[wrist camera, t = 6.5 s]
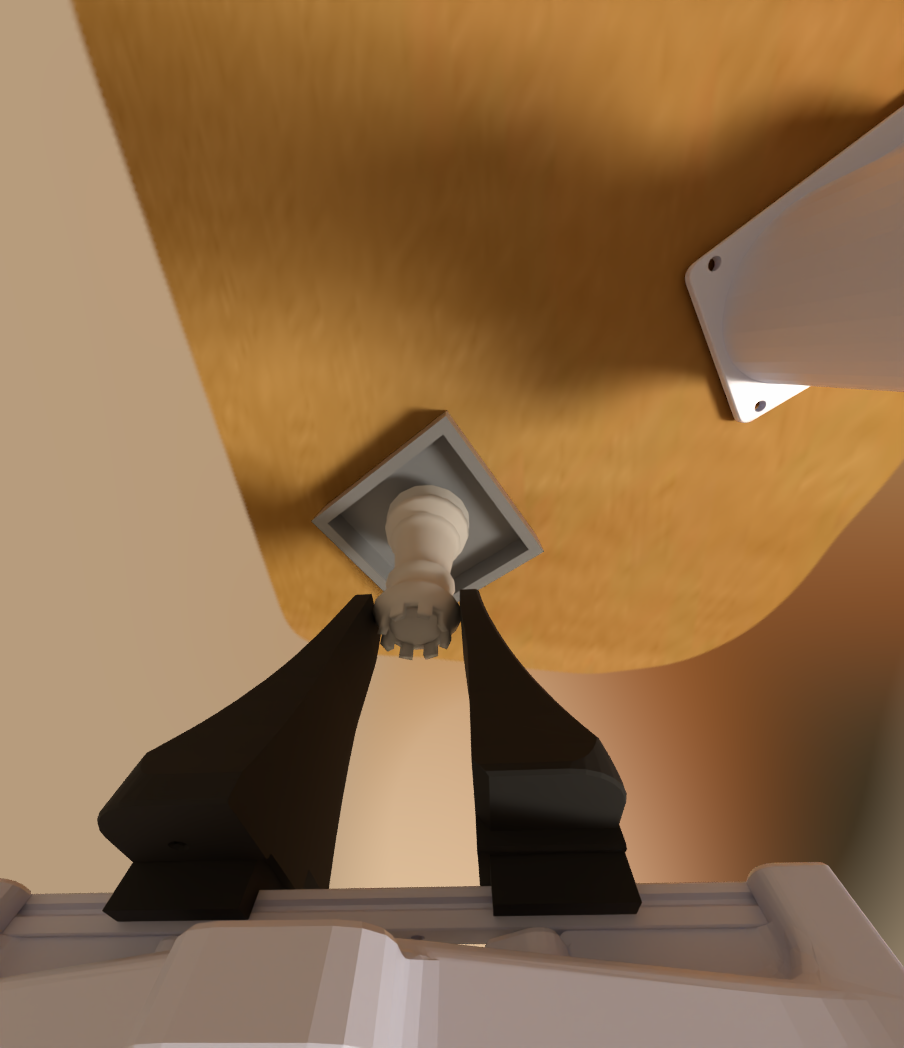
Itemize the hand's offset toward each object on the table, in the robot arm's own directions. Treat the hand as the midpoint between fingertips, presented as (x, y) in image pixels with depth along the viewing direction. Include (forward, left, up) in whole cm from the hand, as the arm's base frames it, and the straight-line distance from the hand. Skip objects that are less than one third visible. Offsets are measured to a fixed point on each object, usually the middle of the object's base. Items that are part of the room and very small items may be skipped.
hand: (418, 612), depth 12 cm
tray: (0, 0, -8) cm, 8 cm away
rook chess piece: (0, -1, -7) cm, 7 cm away
